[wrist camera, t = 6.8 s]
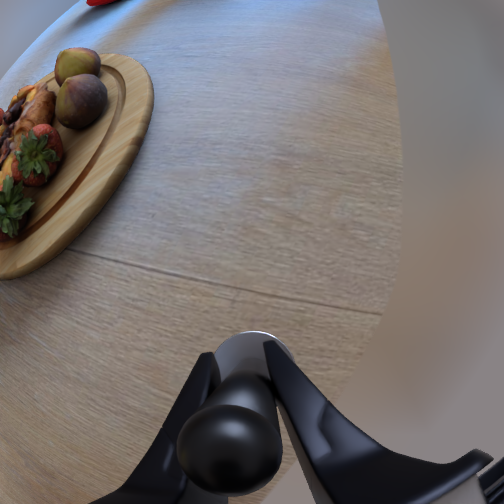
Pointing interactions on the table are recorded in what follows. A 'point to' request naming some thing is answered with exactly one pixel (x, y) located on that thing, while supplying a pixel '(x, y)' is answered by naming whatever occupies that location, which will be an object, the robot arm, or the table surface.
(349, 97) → the table surface
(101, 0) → the red vase
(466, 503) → the robot arm
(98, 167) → the wooden plate
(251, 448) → the coffee tamper
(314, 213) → the table surface
